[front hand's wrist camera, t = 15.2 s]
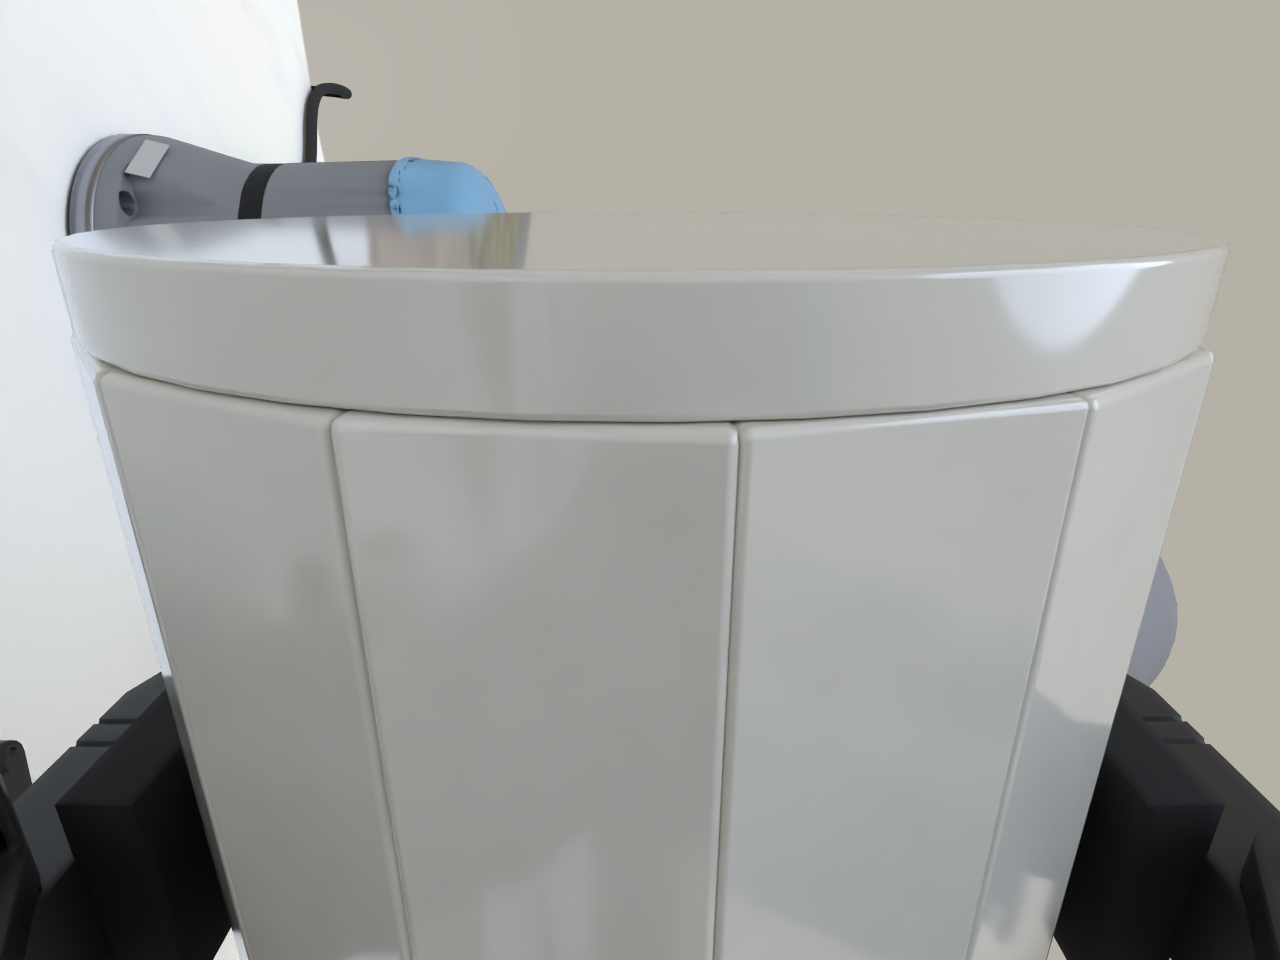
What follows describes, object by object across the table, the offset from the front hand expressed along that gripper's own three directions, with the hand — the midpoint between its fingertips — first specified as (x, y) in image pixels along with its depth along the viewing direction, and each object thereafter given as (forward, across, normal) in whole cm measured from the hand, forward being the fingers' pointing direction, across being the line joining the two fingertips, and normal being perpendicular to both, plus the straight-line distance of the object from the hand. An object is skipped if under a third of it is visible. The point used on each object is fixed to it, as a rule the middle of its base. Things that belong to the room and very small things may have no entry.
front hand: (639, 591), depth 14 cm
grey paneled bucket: (-4, 0, -7) cm, 8 cm away
